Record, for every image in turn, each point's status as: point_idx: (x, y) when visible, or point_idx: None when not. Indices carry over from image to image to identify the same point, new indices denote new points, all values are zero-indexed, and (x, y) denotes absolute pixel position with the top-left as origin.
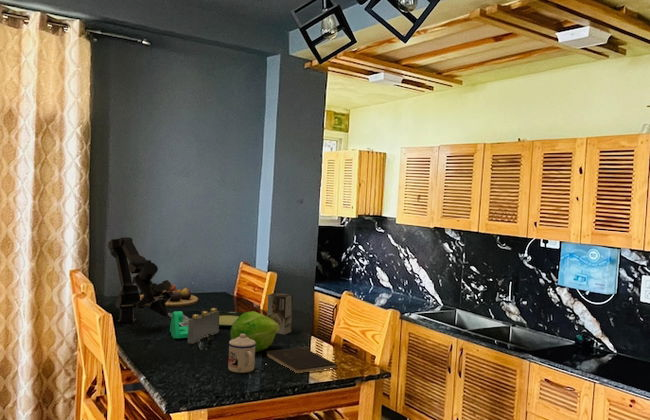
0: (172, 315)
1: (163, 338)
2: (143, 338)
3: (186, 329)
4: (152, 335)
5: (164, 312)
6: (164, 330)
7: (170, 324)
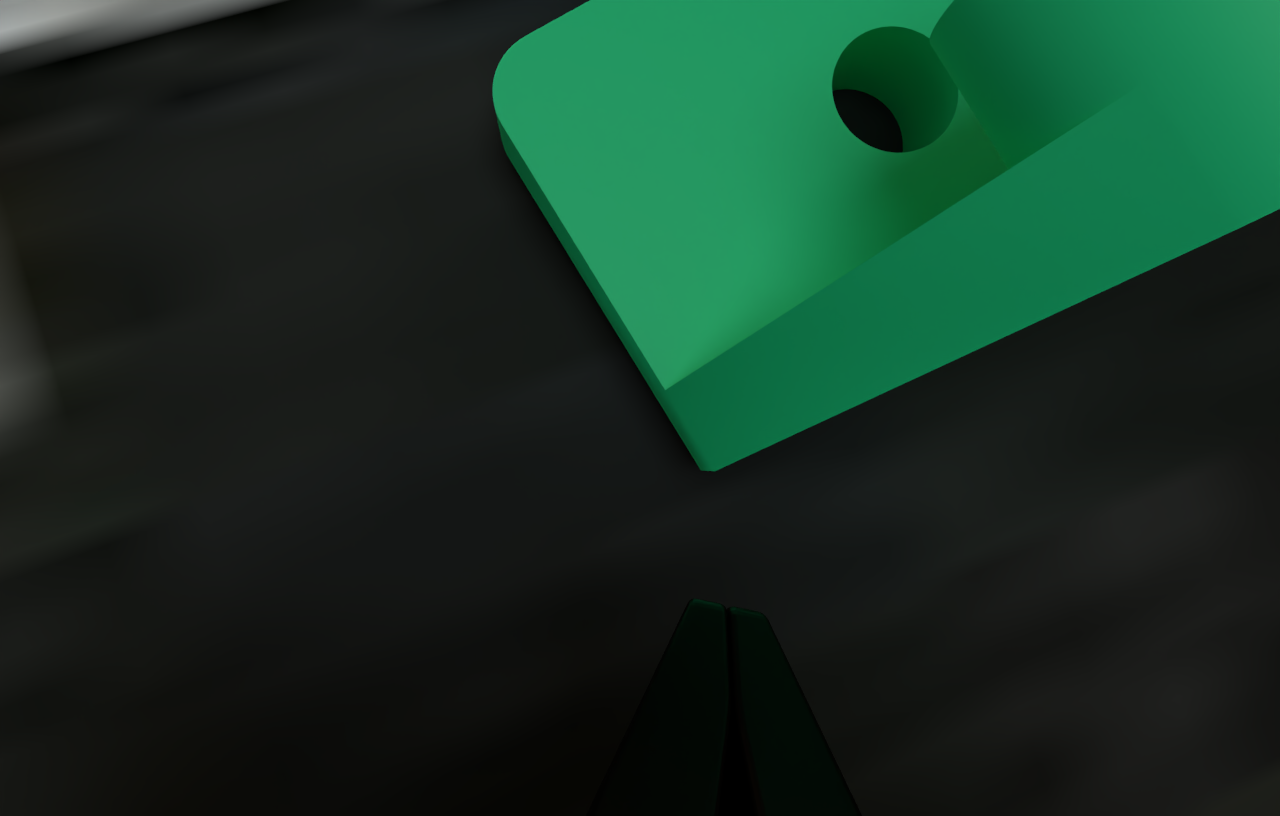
0: (1156, 260)
1: (1115, 433)
2: (1236, 805)
3: (799, 22)
4: (970, 736)
5: (820, 764)
6: (489, 670)
7: (782, 438)
